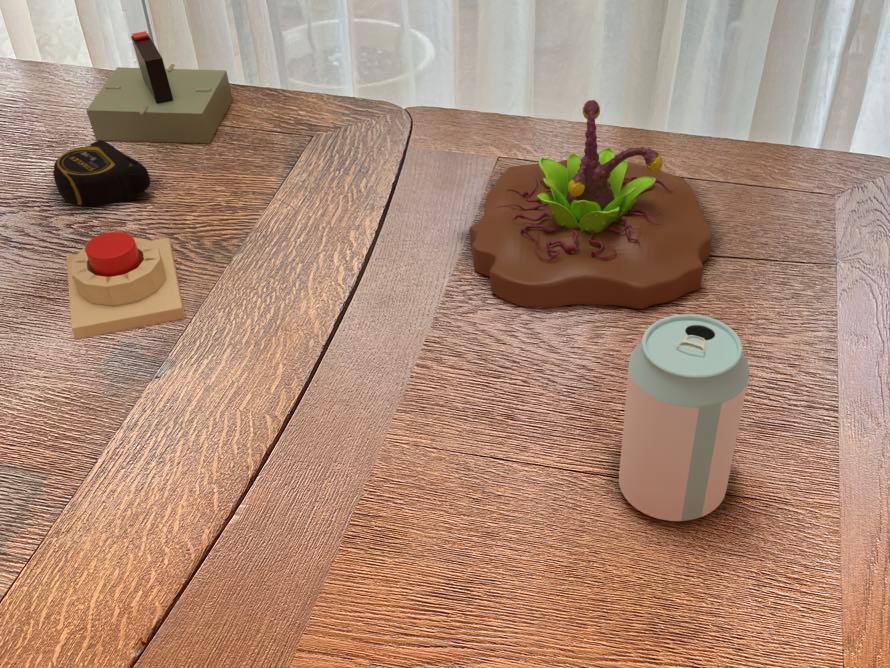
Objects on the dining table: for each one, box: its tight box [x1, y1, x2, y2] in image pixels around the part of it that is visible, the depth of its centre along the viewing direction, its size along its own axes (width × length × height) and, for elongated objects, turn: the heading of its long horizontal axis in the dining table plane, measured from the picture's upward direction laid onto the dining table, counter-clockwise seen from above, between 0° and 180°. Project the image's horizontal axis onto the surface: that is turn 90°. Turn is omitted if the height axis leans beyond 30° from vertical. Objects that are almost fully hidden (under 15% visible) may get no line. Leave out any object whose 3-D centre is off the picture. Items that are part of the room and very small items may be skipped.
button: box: [84, 231, 141, 277], centre depth 78 cm, size 4×4×2 cm
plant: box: [469, 99, 713, 310], centre depth 83 cm, size 20×20×11 cm
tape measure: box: [52, 140, 151, 208], centre depth 90 cm, size 7×7×4 cm
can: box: [618, 313, 750, 522], centre depth 64 cm, size 7×7×12 cm
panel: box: [85, 63, 234, 144], centre depth 100 cm, size 11×10×3 cm
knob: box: [130, 30, 173, 103], centre depth 97 cm, size 6×2×4 cm, turn 27°
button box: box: [65, 237, 186, 340], centre depth 80 cm, size 10×8×4 cm
